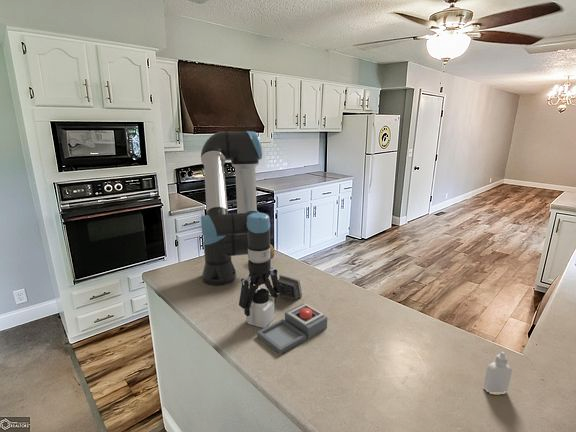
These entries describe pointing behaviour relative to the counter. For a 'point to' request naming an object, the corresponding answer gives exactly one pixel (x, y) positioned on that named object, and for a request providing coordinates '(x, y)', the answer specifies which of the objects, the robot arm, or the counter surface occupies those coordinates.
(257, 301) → the medicine bottle
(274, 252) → the natural sponge
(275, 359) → the counter surface
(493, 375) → the eye dropper bottle
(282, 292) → the electrical switch
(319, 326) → the console
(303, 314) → the button
